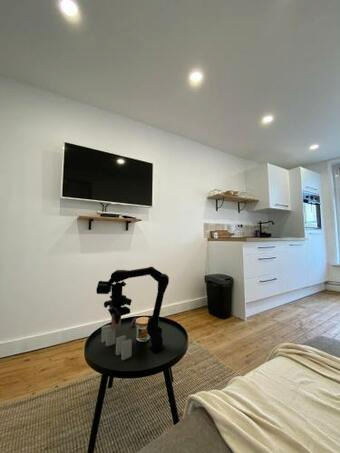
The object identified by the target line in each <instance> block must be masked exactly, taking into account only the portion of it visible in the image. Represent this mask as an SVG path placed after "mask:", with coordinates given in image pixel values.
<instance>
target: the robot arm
mask: <svg viewBox="0 0 340 453" xmlns="http://www.w3.org/2000/svg"><path fill="white" fill-rule="evenodd" d="M144 276H145V277H146V276H150V277H151V278H152V279H153V280H154V281H156V282H157V293H156V296H155V297H156V298H155V302H154V308H153V311H152V316H149V317H148V319H147V325H146V326H145V330H146V333H147V335H148V336H149V337H150V346H148V347H147V348H148V350H150V351H152V353H155V354H157V353H159V352H161V351H163V350H165V347H164V346H163V343H164V342H163V341H164V338H163V328H162V327H161V326H160V325H159V324H160V314H161V309H162V305H163V300H164V296H165V292H166V290H167V288H168V285H169V283H170V278H169V276H168V275H167V274H166V273H163V272H161V271H160V270H158V269H156V268H155V267H154V266H149V267H142V268H135V269H131V270H130V269H129V270H126V269H116V270H115V271H113V272H112V273H111V274H110V278H109V280H107V281H106V280H105V281H104V280H99V281H98V282H97V286H96V289H95V290H96V294H97V295H109V293H110V294H111V295H110V296H109V298H110V300H105V301H104V302H103V307H104V308H105V309H106V308H108V307H109V308H108V309H107V311H108V313H109V315H110V317H111V318H112V314H113V316H114V319H115V323H116V324H118V323H119V320H120V317H121V318H122V316H125V315H130V314H131V308H130V307H128V306H131V303H132V302H133V301H132V299H130V298H129V297H127V296H126V295H125V294H123V287H126V285H127V283H126V282H125V280H127V279H131V278H137V277H138V278H139V277H144ZM125 305H126V306H125Z"/></svg>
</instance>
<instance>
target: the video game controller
mask: <svg viewBox="0 0 340 453" xmlns="http://www.w3.org/2000/svg"><path fill="white" fill-rule="evenodd" d="M137 318H138V317H134V318H133V319H132V320H131V323H130V325H129V329H132V328H133V327H135V328H137V327H136V325H135V321H136V319H137Z"/></svg>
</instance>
